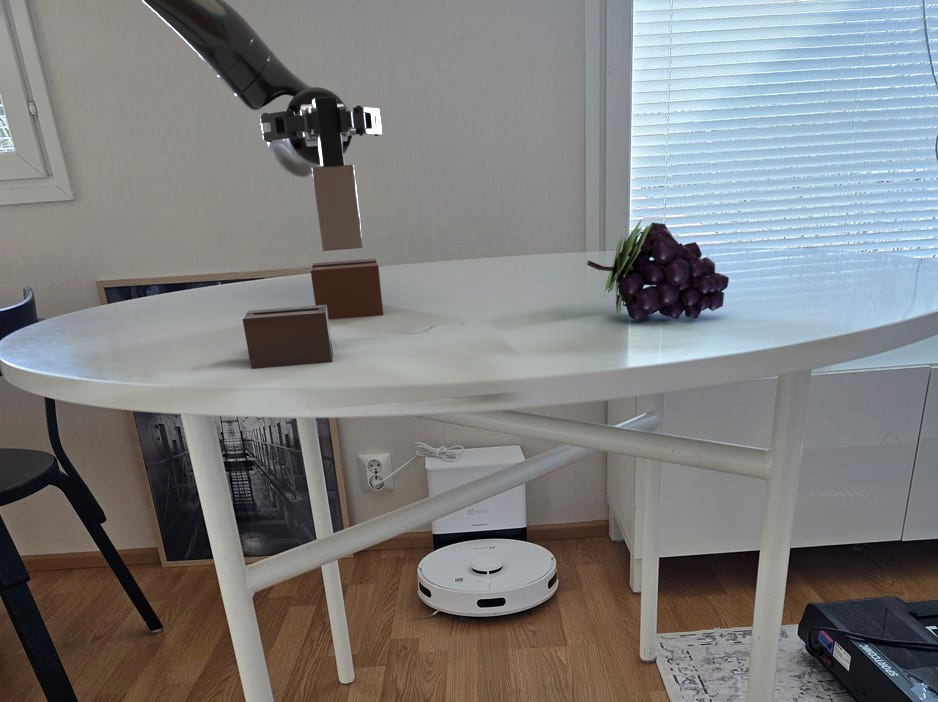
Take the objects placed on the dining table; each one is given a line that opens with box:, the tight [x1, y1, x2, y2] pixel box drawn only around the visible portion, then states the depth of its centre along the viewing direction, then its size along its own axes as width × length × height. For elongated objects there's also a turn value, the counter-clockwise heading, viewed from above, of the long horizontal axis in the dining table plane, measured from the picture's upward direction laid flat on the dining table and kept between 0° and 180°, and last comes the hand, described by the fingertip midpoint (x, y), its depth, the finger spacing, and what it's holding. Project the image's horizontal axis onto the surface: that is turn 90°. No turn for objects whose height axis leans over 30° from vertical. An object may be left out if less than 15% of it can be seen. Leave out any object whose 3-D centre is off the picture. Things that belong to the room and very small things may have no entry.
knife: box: [311, 97, 364, 252], centre depth 90 cm, size 3×4×14 cm
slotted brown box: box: [310, 258, 385, 321], centre depth 96 cm, size 8×8×7 cm
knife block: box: [242, 304, 334, 370], centre depth 78 cm, size 5×7×5 cm
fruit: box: [586, 218, 730, 322], centre depth 90 cm, size 10×11×15 cm
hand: (330, 120), depth 85 cm, fingers closed on knife, 2 cm apart
